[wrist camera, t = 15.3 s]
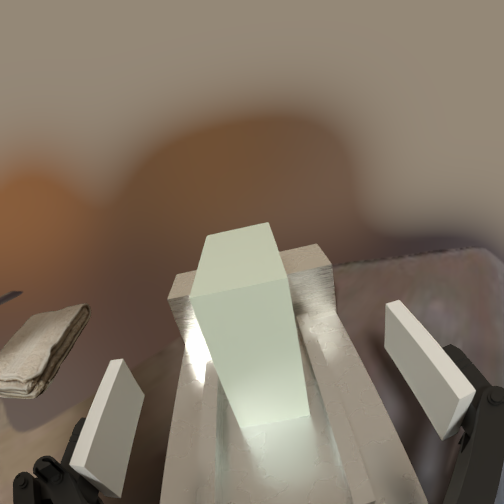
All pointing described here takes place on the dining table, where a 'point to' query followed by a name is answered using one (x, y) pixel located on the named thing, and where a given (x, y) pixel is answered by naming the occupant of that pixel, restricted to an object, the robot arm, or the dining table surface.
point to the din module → (250, 325)
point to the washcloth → (40, 351)
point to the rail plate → (287, 431)
